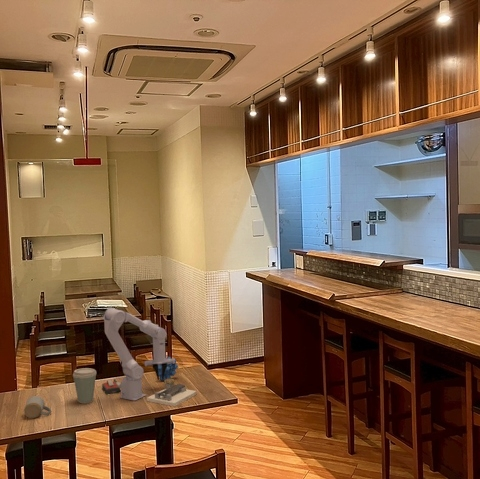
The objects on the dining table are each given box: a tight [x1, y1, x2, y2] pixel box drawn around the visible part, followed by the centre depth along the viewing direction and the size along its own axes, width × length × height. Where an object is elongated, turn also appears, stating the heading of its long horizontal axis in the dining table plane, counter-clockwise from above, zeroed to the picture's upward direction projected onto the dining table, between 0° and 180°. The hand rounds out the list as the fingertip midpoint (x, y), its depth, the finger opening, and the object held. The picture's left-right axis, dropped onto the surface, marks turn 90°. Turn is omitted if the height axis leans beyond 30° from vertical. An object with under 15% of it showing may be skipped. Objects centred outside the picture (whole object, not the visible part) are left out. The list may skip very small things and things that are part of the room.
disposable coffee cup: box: [72, 367, 97, 405], centre depth 239 cm, size 11×11×15 cm
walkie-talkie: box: [101, 378, 121, 395], centre depth 256 cm, size 9×4×20 cm
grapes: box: [155, 356, 179, 381], centre depth 266 cm, size 12×7×12 cm, turn 114°
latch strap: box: [159, 383, 186, 397], centre depth 240 cm, size 15×4×1 cm, turn 150°
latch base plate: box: [146, 382, 198, 407], centre depth 240 cm, size 16×17×4 cm
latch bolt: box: [163, 378, 176, 384], centre depth 248 cm, size 4×3×1 cm
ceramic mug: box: [23, 395, 52, 419], centre depth 224 cm, size 11×8×8 cm
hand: (160, 378), depth 251 cm, fingers closed
